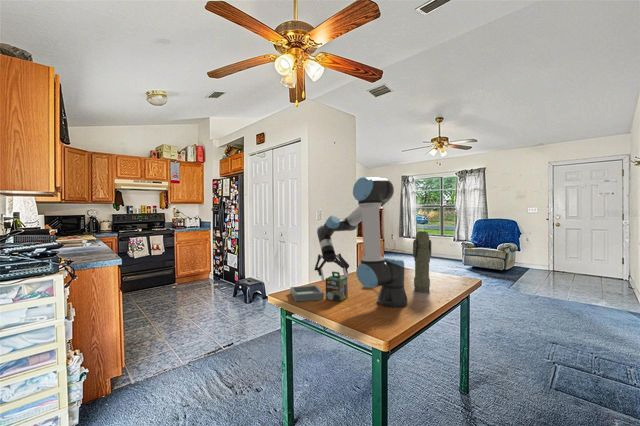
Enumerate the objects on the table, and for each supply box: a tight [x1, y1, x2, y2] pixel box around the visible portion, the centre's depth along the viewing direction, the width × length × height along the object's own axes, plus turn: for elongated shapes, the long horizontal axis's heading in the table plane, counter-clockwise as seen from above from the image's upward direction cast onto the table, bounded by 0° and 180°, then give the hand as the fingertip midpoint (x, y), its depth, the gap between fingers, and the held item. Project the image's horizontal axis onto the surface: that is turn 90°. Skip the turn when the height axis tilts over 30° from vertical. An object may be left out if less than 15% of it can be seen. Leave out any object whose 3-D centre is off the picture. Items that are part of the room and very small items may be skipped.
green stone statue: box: [412, 230, 432, 293], centre depth 174 cm, size 9×12×35 cm
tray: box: [290, 284, 325, 303], centre depth 163 cm, size 15×15×4 cm
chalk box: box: [324, 271, 349, 303], centre depth 159 cm, size 9×9×15 cm
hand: (335, 279), depth 160 cm, fingers open, 13 cm apart
